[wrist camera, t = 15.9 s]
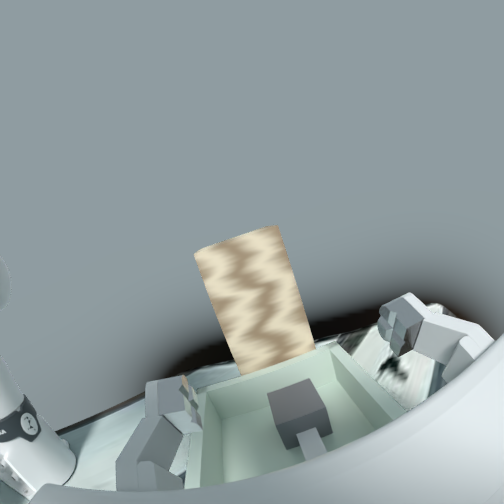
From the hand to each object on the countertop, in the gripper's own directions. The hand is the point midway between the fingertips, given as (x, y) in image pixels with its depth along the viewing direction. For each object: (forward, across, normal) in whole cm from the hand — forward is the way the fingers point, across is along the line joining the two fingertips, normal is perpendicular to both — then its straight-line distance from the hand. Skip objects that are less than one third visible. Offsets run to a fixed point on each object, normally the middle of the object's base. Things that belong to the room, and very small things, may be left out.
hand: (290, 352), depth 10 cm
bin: (+3, 0, +26) cm, 26 cm away
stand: (+20, -3, +34) cm, 40 cm away
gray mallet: (+3, -2, +25) cm, 25 cm away
